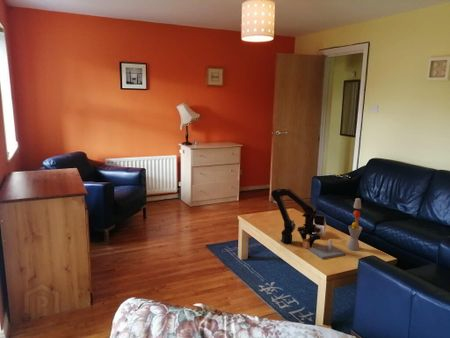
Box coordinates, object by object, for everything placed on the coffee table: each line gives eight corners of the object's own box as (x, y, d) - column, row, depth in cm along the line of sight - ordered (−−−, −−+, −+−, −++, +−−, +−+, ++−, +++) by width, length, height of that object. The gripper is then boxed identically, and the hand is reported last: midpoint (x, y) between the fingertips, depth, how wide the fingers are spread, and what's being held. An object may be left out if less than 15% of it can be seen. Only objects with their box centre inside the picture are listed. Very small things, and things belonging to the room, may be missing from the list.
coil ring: (306, 248, 237) (306, 243, 236) (300, 244, 243) (300, 239, 242) (314, 247, 239) (315, 242, 239) (308, 243, 246) (309, 238, 245)
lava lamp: (349, 244, 246) (353, 196, 239) (362, 247, 240) (367, 198, 233) (344, 248, 239) (348, 198, 232) (357, 252, 233) (362, 201, 227)
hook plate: (322, 259, 222) (323, 245, 220) (309, 250, 235) (309, 237, 233) (344, 255, 229) (346, 241, 227) (331, 246, 241) (332, 234, 239)
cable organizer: (325, 237, 257) (327, 222, 255) (312, 238, 255) (313, 223, 253) (316, 230, 272) (317, 215, 269) (303, 231, 269) (304, 216, 267)
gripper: (327, 226, 232) (325, 248, 235) (311, 217, 249) (309, 238, 252) (313, 228, 228) (311, 250, 231) (297, 219, 245) (296, 240, 248)
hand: (307, 244), depth 241 cm, fingers closed on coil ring, 7 cm apart
